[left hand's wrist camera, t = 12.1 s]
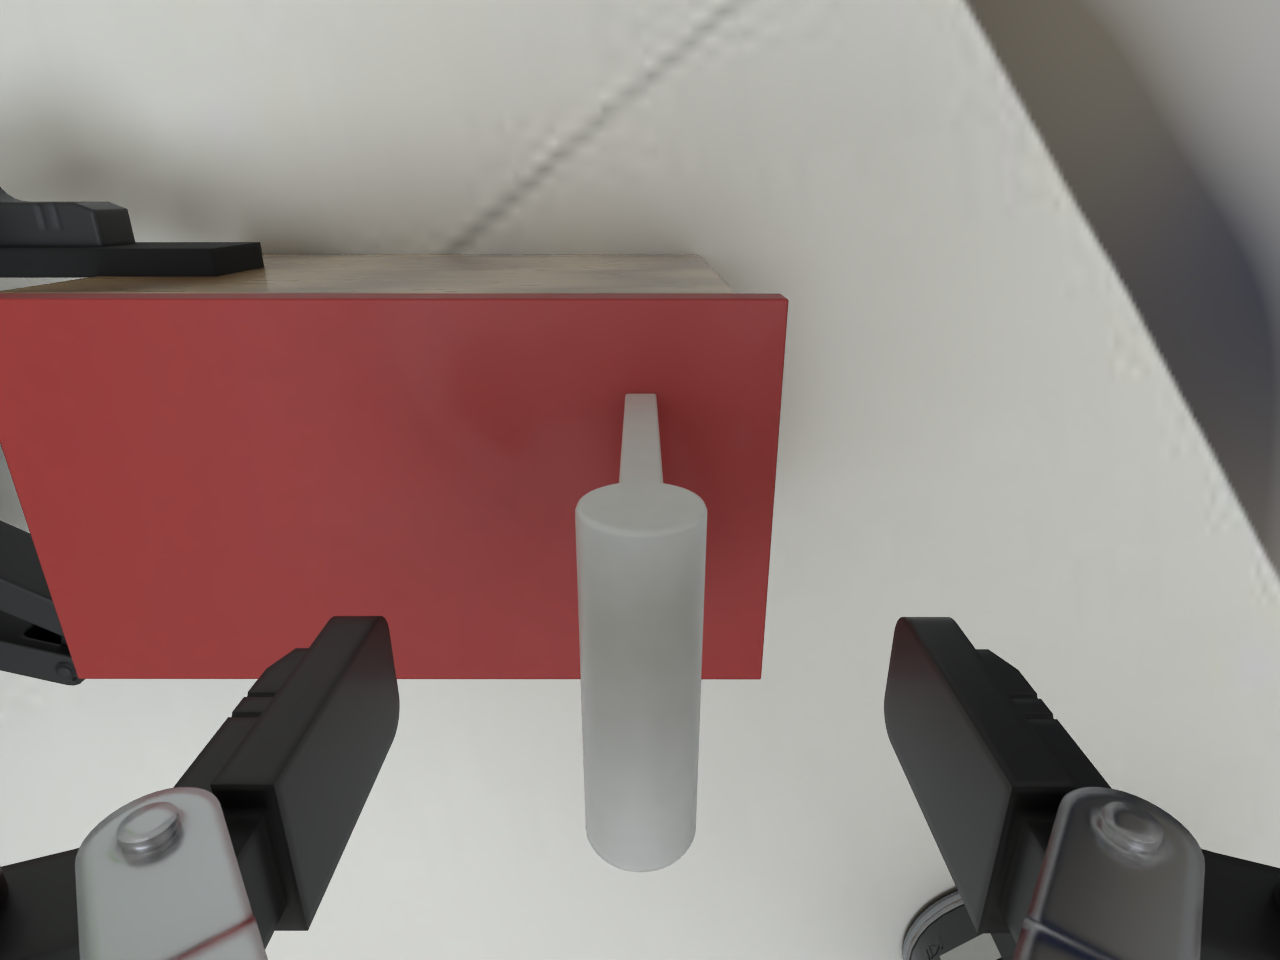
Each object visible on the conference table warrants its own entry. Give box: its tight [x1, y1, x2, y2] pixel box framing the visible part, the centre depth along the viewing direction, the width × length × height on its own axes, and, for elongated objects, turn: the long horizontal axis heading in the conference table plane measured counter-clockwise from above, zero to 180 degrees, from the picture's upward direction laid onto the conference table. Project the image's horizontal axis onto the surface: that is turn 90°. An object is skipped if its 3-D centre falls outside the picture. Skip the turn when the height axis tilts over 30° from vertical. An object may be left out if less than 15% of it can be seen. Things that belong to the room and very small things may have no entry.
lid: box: [0, 293, 788, 872], centre depth 15 cm, size 18×10×9 cm, turn 90°
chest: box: [0, 254, 736, 294], centre depth 24 cm, size 17×10×11 cm, turn 90°
